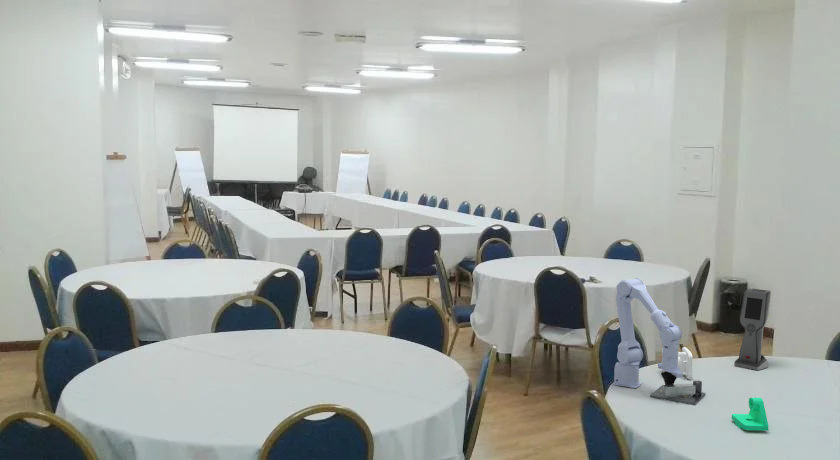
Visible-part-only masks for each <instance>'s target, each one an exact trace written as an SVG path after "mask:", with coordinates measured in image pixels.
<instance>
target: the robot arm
mask: <svg viewBox="0 0 840 460" xmlns="http://www.w3.org/2000/svg"><path fill="white" fill-rule="evenodd" d="M633 299H636V300H639V302H641V305H643V306H644V307H645V309H646V310H647V312H649V313H650V320H651V321H652V322H653V324H654V325H655V326H656V328H657V330H658V331H659V332H660V333H659V338H660V339H661V343H662V349H663V356H661V362H660V363H659V362H658V363H657V368H658V369H659V370H660V369H661V370H662V372H661V373H660V375H661V376H662V379H663V381H664V385H672V384H675V381H676V380H677V379H682V378H683V375H682V373H681V372H680V371H679V370H680V368H679V367H678V352H679V340H681V338H682V335H683V333H682V330H681V327H680V326H678V325H676V324H675V323H673V322H672V320H671V319H670V318H669V317H668V316H667V312H666V311H664V310H663V309H659V308H658V306H657V305H656V304H655V302H654V299H652V297H651V295H650V294H649V292H648V290H647V285H645V283H644V281H643V280H642V279H640V278H633V279H622V280H620V281H619V282H618V283H617V285H616V296H615V302H616V308H617V315H618V317H617V318H618V324H619V331H620V338H621V341H620V343H619V344H618V346H617V354H616V358H617V360H618V361H617V362H615V365H614V369H613V370H614V377H613V380H614V381H613V385H614V386H619V387H620V386H621V387H625V388H632V389H637V388H639V387H640V386H641V385H643V384H642V382H640V381H639V379H640V378H639V377H640V373H639V372H640V364H641V361H642V360H643V358H644V353H643V349H642V348H641V344H640V343H639V341H638V340H637V339H636V337H635V335H636V334H635V329H634V321H633V313H632V306H631V302H632V301H633ZM663 371H665V372H663Z"/></svg>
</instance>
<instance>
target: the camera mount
mask: <svg viewBox="0 0 840 460" xmlns="http://www.w3.org/2000/svg"><path fill="white" fill-rule="evenodd" d="M748 407H749V412H748V413H732V414H731V420H732V421H733V422H734V425H735V426H736V427H737V428H739V429H740V430H745V431H766V432H767V431H769V422H768V417H767V413H766V407H765V402H764V399H763V398H762V397H749V398H748Z"/></svg>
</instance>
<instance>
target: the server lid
mask: <svg viewBox="0 0 840 460" xmlns="http://www.w3.org/2000/svg"><path fill="white" fill-rule="evenodd" d="M661 390H662V385H661V386H659V387H658V388H657V389H656V390H654V391H653V392H652V393H651V394H650V395H649V398H652V399H658V400H663V401H669V402H674V403H680V404H686V405H692V406H696V405H697V404H698V403H699V402H700V401H701V400H702V399H703V398H704V397H705V396H706V392H703V391H702V395H701V396H694V395H689V396H688V397H686V396H680V395H672V396H665V395H663V394H662V392H660V391H661Z"/></svg>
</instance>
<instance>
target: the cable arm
mask: <svg viewBox="0 0 840 460" xmlns="http://www.w3.org/2000/svg"><path fill="white" fill-rule="evenodd" d="M702 385H703V382H702V381H700V380H693V381H692V383H677V384H675V383H674V384H672V385H665V384H662V385H661V386H662V394H663V395H665V396H672V395H694V396H701V395H702V392H703V389H702V388H703V386H702Z"/></svg>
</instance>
